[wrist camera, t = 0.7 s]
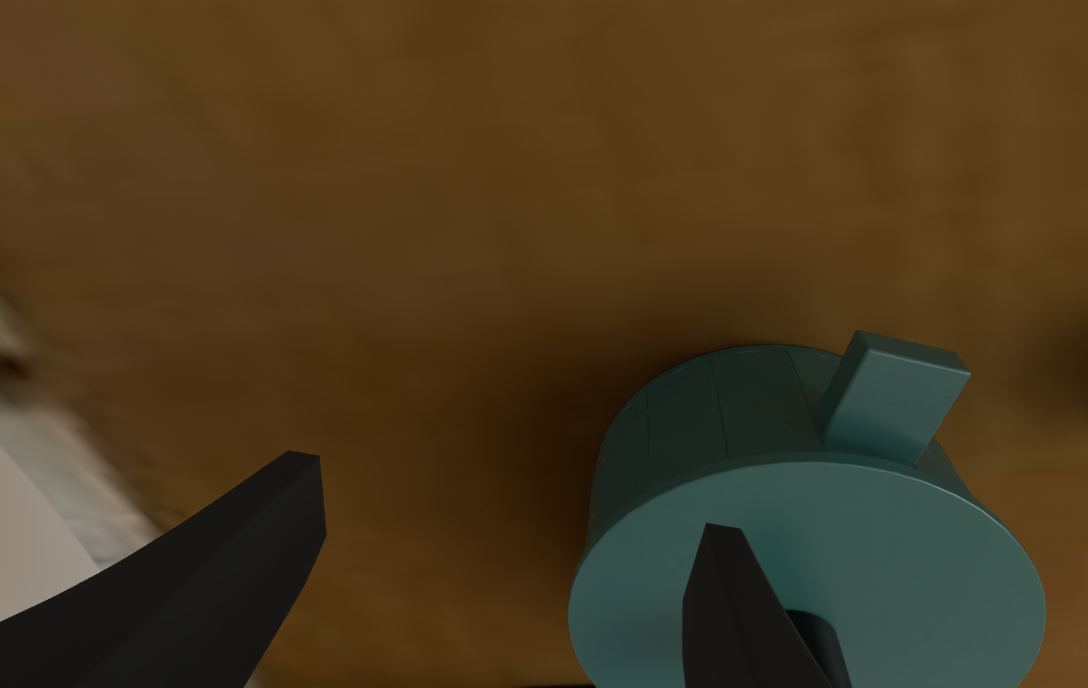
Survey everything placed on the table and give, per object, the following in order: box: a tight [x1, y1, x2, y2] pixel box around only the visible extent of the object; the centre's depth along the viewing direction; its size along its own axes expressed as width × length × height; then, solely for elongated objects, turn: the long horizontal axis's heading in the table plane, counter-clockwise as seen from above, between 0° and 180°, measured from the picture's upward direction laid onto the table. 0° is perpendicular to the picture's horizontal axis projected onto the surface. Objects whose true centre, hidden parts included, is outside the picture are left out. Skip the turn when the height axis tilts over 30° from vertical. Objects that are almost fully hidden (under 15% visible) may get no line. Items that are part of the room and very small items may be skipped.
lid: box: [568, 451, 1046, 688], centre depth 17 cm, size 12×12×5 cm
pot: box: [585, 330, 973, 549], centre depth 21 cm, size 11×17×6 cm
